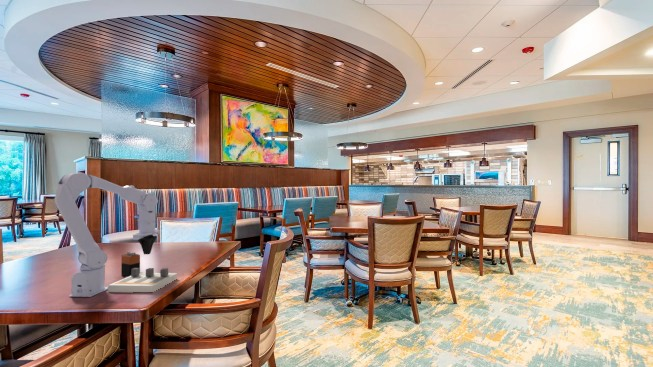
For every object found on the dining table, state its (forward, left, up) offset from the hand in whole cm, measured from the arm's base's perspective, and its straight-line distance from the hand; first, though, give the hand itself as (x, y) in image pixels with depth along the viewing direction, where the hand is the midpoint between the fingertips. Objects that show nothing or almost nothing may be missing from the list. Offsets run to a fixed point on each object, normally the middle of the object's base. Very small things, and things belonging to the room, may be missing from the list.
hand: (147, 253), depth 126 cm
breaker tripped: (-5, -11, -8) cm, 14 cm away
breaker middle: (-5, -4, -8) cm, 10 cm away
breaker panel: (-8, -5, -10) cm, 14 cm away
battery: (+4, +10, -11) cm, 15 cm away
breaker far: (-5, +1, -8) cm, 9 cm away
